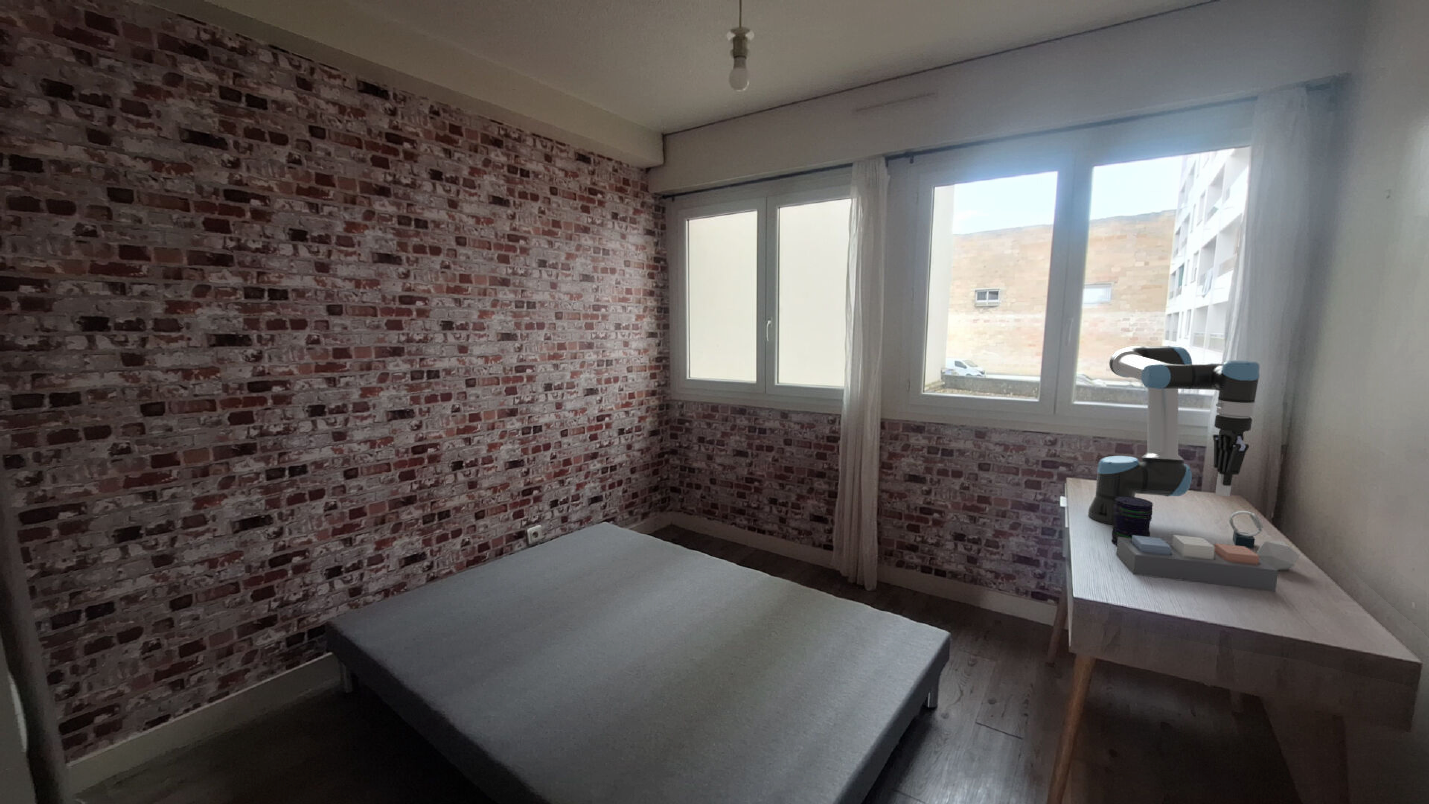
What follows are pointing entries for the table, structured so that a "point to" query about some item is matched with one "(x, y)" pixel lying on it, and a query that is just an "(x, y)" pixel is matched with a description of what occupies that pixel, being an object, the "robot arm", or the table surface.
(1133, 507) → the storage jar
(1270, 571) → the keypad housing
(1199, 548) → the white key
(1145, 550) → the slate blue key
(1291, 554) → the die
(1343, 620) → the table surface
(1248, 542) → the watch
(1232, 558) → the terracotta key
